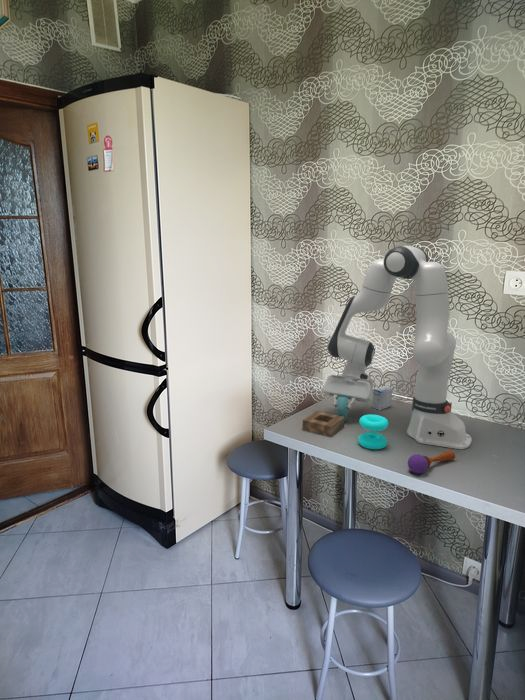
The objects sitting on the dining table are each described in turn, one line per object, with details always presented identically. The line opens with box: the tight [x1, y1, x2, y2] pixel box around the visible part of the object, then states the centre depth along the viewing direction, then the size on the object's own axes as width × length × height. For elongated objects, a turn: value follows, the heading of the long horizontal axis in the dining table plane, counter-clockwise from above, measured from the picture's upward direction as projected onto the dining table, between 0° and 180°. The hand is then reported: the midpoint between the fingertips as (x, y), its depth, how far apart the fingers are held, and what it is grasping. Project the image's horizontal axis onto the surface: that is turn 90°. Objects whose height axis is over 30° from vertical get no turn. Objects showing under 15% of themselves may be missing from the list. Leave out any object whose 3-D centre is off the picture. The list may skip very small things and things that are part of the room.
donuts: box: [357, 413, 389, 450], centre depth 163 cm, size 10×10×10 cm
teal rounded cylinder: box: [336, 396, 349, 422], centre depth 183 cm, size 4×4×9 cm
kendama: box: [407, 449, 456, 475], centre depth 147 cm, size 6×6×20 cm
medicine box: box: [371, 385, 393, 411], centre depth 201 cm, size 8×4×9 cm, turn 130°
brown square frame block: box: [301, 410, 345, 438], centre depth 178 cm, size 12×12×4 cm
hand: (341, 407), depth 182 cm, fingers closed on teal rounded cylinder, 4 cm apart
